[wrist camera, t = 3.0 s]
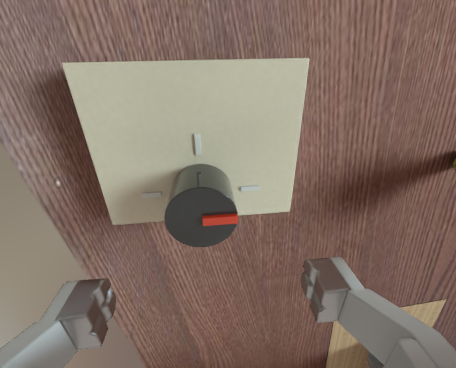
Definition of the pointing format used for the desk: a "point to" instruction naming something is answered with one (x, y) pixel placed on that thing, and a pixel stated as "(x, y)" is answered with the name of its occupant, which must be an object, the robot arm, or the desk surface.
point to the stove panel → (190, 128)
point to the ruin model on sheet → (357, 354)
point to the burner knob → (201, 206)
